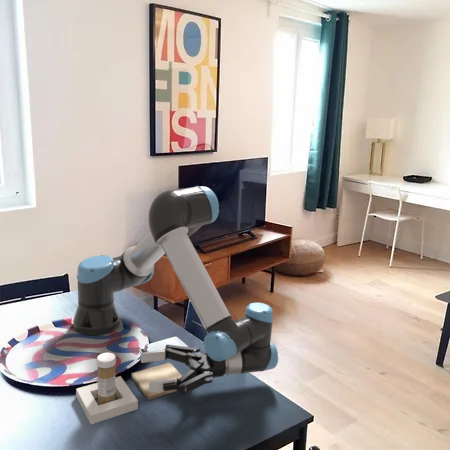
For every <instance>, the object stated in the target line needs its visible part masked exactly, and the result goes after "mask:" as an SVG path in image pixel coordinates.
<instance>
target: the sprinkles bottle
mask: <svg viewBox="0 0 450 450" xmlns="http://www.w3.org/2000/svg"><path fill="white" fill-rule="evenodd" d="M116 362H117V360H116V355H115V354H114V353H112V352H103V353H101V354H99V355H97V357H96V366H97V383H98V398H97V404H98V406H99V405H102V404H105V403H108V402H112V401H115V400H117V399H116V394H115V378H116V364H117V363H116Z"/></svg>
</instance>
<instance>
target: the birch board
mask: <svg viewBox="0 0 450 450" xmlns="http://www.w3.org/2000/svg"><path fill="white" fill-rule="evenodd" d="M182 376H183V375H182V374H181V373H180V372H179V371H178V369H177V368H175V366H174V365H173V364H172V363H171V362H166V363H164V364H160V365H156V366H153V367H149V368H145V369H142V370H138V371H135V372H131V378H132V379H133V380H134V382H135V383H136V385H137V386H138V387H139V389H140V390H141V392H143V394H144V395H145V397H146V398H147V400H148V401H150V400H153V399H157V398H159V397H162V396H165V395H169V394H172V393H175V392H178V391H177V390H170V391H158V392H151V393H149V381H155V380H163V379H170V378H175V379H178V378H180V377H182ZM185 389H186V387H185Z"/></svg>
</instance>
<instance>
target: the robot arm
mask: <svg viewBox="0 0 450 450" xmlns="http://www.w3.org/2000/svg"><path fill="white" fill-rule="evenodd" d="M219 207H220V205H219V200H218V197H217V195H216V193H215V192H214V191H213V190H212V189H211V188H209V187H207V186H204V185H203V186H199V185H195V186H192V187H185V188H177V189H169V190H165V191H163V192H161V193H159V194H158V195H157V196H156V197H155V198H154V199H153V201H152V202H151V204H150V207H149V210H148V217H147V218H148V227H149V230H150V231H149V232H148V233H147V234H146V235H145V236H144V237H143V238H142V239H141V240H140V242H139V243H138V244H137V245H134V246H129V247H128V248H127V249H126V250H124V251H123V253H122V254H121V255H119V256H115V257H111V256H109V255H94V256H90V257H87V258H85V259H83V260H81V261H80V263H79V264H78V266H77V272H76V273H77V274H76V279H77V299H78V300H77V301H78V303H77V308H76V309H75V310H76V311H75V314H74V317H73V321H72V323H73V325H72V326H73V327H72V328H73V330H74V331H75V332H77V333H78V334H79V333H80V334H82V335H86V336H87V335H88V336H99V335H104V334H108V333H112V332H113V331H115V330H116V329H117V328H118V327H119V325H120V316H119V314H118V311H117V308H116V304H115V299H114V298H115V296H114V295H115V293H117V292H120V291H121V292H122V291H123V290H126V289H130V288H133V287H137V286H140V285H144V284H145V283H147V282H149V281H150V280H151V279H152V278H153V276H154V274H155V272H154V271H155V263H157V262H158V261H159V260H160V259H161V258H162V257H163V256H164V255H165V256H166V257H167V259H168V261H169V263H170V265H171V267H172V269H173V271H174V272H175V275H176V276H177V279H178V281H179V282H180V284H181V286H182V288H183V289H184V292H185V293H186V296H187V297H188V299H189V302H190V303H191V305H192V306H193V309H194V311H195V313H196V314H197V317H198V318H199V320H200V322H201V324H202V326H203V328H204V330H205V332H206V334H207V335H205V337H204V339H203V345H204V352H205V353H201V347H199V346H198V347H196V346H195V347H191V346H190V347H189V346H188V347H184V346H176V345H168V344H167V345H166V347H165V349H164V350H158V351H151V352H145V351H143V352H140V363H143V364H144V363H151V362H152V363H153V362H160V361H166V360H172V361H175V362H179V363H182V364H185V366H187V367H188V368H189V370H188V371H187V372H186V373H184V374H183V375H182V377H180V378H178V379H175V378H170V379H163V380H155V381H149V393H151V392H158V391H170V390H177V391H176V392H180V396H184V395H186V394H188V393H190V392H192V391H194V390H196V389H197V388H200V387H202V386H203V385H204V386H205V385H207V384H212V383H213V379H214V378H220V377H224V376H233V375H240V374H241V375H242V374H249V373H256V372H257V373H258V372H265V371H270V370H273V369H275V368H276V367H277V365H278V364H279V356H278V354H279V351H278V348H277V346H276V345H275V343H274V342H272V341H271V340H272V332H273V331H272V330H273V322H274V320H273V319H274V318H273V316H274V315H273V308H272V307H271V306H270V305H269V304H266V303H264V302H251V303H249V304H248V305H247V306H246V307H245V312H244V316H243V317H240V318H238V319H236V320H234V319H233V317H232V315H231V313H230V312H229V309H228V308H227V306H226V304H225V302H224V301H223V299H222V297H221V295H220V293H219V291H218V290H217V288H216V286H215V284H214V282H213V280H212V278H211V276H210V275H209V273H208V271H207V269H206V267H205V265H204V264H203V262H202V260H201V258H200V255H199V254H198V252H197V251H196V248H195V247H194V245H193V243H192V241H191V239H190V236H193V234H194V233H196V232H197V231H199V229H200V228H201V227H202V226H204V225H210V224H212V223H214V222H215V221H216V220H217V218H218V216H219V212H220V209H219ZM170 348H171V349H170ZM185 387H186V388H185Z"/></svg>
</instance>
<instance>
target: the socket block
mask: <svg viewBox="0 0 450 450" xmlns="http://www.w3.org/2000/svg"><path fill="white" fill-rule="evenodd" d="M75 390H76V391H75V393H76V397H75V398H76V399H77V401H78V402H79V405H80V407H81V408H82V410H83V412H84V414H85V416H86V418H87V420H88V422H89V424H90V425H93V424H96V423H100V422H102V421H103V422H104V421H106V420H109V419H112V418H114V417H118V416H120V415H121V416H122V415H124V414H127V413H129V412H133V411H136V410H138V407H139V403H138V402H139V400H138V398H137V397H136V396H135V395H134V393H133V392H132V390H131V389H130V387H129V386H128V384H127V383H126V382H125V380H124V379H123V378H122V376H121V375H120V376H117V377H116V376H115V397H116V398H117V399H116V400H115V401H112V402H108V403H105V404H102V405H98V402H97V401H96V399H98V382H96V383H92V384H88V385H85V386H84V385H83V386H81V387H78V388H75Z"/></svg>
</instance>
